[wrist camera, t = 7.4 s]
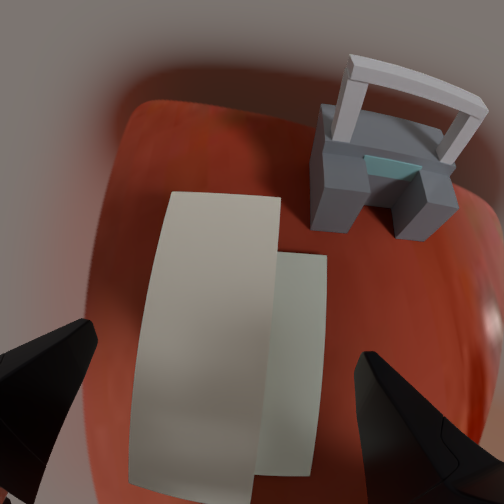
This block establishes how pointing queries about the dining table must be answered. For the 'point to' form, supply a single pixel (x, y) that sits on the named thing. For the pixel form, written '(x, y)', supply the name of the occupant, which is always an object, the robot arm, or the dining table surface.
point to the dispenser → (388, 153)
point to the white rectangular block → (205, 348)
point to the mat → (294, 366)
